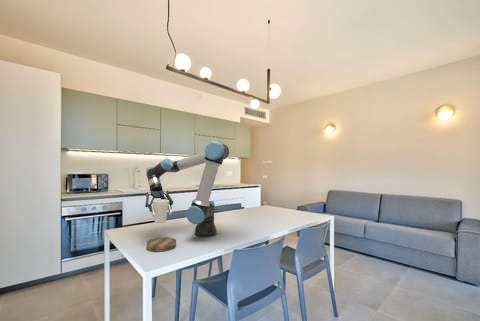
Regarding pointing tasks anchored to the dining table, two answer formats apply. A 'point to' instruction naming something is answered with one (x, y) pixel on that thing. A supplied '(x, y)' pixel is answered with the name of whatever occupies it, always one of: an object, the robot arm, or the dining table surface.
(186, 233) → the dining table surface
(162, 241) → the walnut pedestal
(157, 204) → the foam cup
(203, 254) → the dining table surface
